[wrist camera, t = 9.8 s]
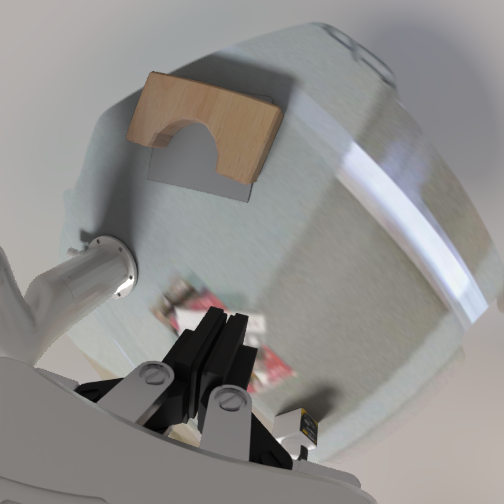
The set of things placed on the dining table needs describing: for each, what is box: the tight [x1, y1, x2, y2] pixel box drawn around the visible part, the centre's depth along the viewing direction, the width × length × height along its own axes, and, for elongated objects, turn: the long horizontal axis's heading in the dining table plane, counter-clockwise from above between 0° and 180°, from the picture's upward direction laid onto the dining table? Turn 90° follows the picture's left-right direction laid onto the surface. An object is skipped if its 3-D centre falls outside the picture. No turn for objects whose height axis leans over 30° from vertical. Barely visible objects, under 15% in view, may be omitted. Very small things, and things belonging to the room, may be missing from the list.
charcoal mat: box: [147, 91, 273, 203], centre depth 40 cm, size 17×16×1 cm
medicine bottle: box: [271, 408, 318, 461], centre depth 48 cm, size 7×7×12 cm
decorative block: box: [126, 71, 284, 185], centre depth 36 cm, size 11×6×20 cm
